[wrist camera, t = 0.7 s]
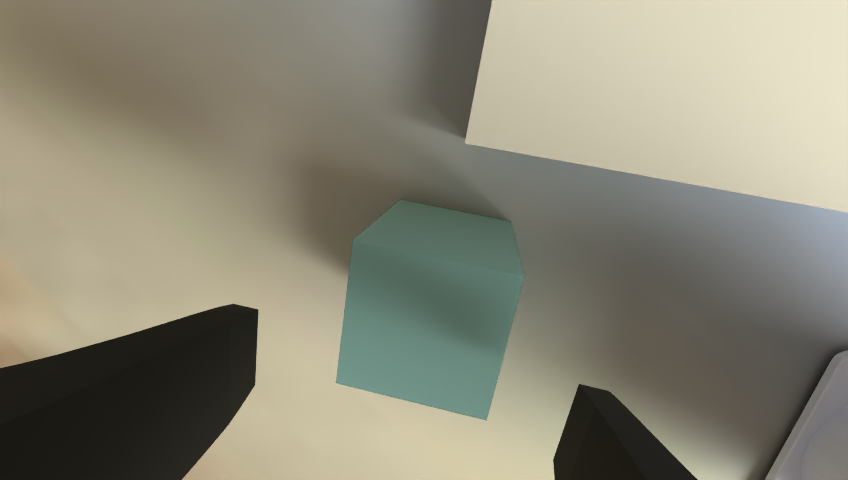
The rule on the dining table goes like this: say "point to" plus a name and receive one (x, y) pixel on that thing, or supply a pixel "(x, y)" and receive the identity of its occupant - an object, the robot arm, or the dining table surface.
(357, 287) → the teal block
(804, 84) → the plinth
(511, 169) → the dining table surface
